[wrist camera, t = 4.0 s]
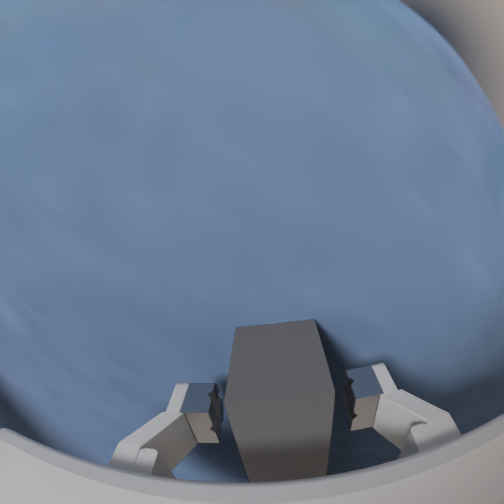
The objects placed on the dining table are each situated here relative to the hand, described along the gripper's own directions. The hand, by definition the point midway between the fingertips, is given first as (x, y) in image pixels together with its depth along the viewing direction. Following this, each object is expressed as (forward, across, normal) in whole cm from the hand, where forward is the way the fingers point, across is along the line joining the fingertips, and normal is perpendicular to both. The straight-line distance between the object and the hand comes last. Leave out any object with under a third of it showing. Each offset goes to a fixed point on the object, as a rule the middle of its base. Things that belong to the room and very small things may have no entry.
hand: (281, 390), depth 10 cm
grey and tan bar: (+2, 0, +9) cm, 9 cm away
